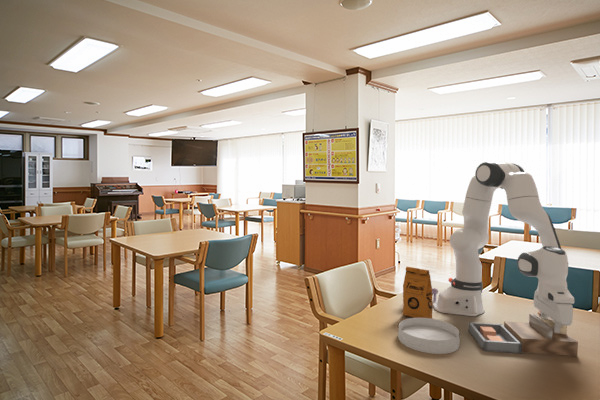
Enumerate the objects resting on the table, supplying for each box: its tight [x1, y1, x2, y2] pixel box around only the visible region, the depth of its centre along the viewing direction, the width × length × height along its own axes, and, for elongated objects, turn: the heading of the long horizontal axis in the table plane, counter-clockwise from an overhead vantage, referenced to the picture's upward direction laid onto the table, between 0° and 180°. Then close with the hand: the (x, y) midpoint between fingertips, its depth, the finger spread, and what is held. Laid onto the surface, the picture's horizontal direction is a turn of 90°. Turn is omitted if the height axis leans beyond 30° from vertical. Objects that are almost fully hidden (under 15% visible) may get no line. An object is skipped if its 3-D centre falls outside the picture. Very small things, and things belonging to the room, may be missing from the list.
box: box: [468, 321, 522, 354], centre depth 140 cm, size 12×18×4 cm
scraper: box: [528, 313, 568, 339], centre depth 137 cm, size 9×14×4 cm, turn 171°
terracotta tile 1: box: [486, 335, 503, 341], centre depth 136 cm, size 4×4×2 cm
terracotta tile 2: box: [480, 326, 496, 338], centre depth 144 cm, size 4×4×2 cm
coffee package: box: [402, 266, 434, 319], centre depth 164 cm, size 10×12×22 cm
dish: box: [397, 317, 461, 355], centre depth 141 cm, size 22×22×5 cm
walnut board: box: [503, 321, 579, 357], centre depth 138 cm, size 18×16×5 cm
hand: (550, 328), depth 137 cm, fingers open, 6 cm apart
